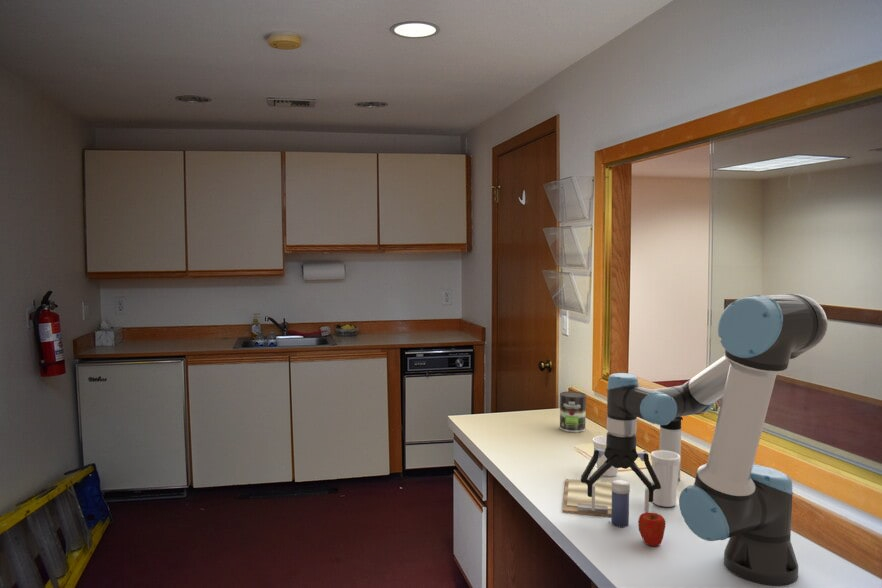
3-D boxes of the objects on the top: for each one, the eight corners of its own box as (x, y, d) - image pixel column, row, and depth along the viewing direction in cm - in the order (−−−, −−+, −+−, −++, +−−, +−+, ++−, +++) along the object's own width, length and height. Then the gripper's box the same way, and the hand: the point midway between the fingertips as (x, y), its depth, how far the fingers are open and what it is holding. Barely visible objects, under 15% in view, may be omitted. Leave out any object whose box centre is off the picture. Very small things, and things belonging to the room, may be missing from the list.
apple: (633, 543, 156) (634, 514, 155) (645, 535, 160) (646, 507, 160) (657, 552, 151) (658, 522, 151) (669, 543, 156) (670, 514, 155)
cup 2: (660, 511, 175) (661, 460, 174) (643, 499, 183) (644, 451, 181) (685, 507, 177) (686, 458, 176) (667, 496, 185) (669, 448, 184)
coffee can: (584, 433, 246) (585, 398, 245) (558, 431, 249) (558, 396, 248) (586, 426, 256) (587, 392, 255) (561, 424, 259) (561, 390, 258)
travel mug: (682, 483, 195) (684, 420, 193) (660, 482, 196) (661, 419, 194) (679, 476, 201) (680, 414, 199) (657, 474, 202) (659, 413, 200)
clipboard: (622, 517, 171) (623, 511, 171) (562, 512, 174) (562, 506, 174) (618, 484, 194) (618, 478, 194) (565, 480, 198) (565, 474, 198)
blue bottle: (629, 528, 164) (630, 487, 163) (611, 526, 165) (612, 486, 164) (628, 520, 169) (629, 480, 168) (610, 519, 170) (611, 479, 169)
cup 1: (588, 476, 201) (588, 442, 201) (595, 466, 210) (596, 433, 209) (619, 481, 197) (620, 446, 196) (626, 471, 206) (626, 438, 205)
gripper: (669, 431, 166) (667, 509, 168) (573, 425, 172) (571, 500, 174) (673, 440, 159) (671, 521, 161) (572, 433, 164) (571, 512, 166)
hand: (619, 510), depth 167 cm, fingers open, 13 cm apart
